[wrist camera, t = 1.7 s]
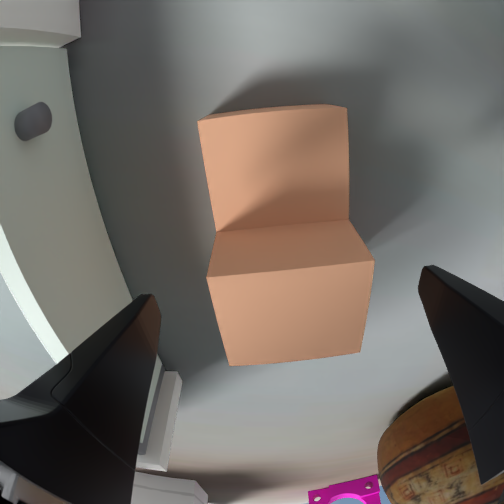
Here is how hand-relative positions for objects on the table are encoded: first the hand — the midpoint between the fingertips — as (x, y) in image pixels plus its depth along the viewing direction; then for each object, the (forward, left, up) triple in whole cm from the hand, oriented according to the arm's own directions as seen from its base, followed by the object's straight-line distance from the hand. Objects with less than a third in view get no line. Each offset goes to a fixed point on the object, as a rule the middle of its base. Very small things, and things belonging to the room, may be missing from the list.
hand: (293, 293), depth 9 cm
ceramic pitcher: (-30, -20, -8) cm, 37 cm away
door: (-13, +11, -8) cm, 19 cm away
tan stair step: (0, 0, -8) cm, 8 cm away
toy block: (-63, -11, -9) cm, 65 cm away
